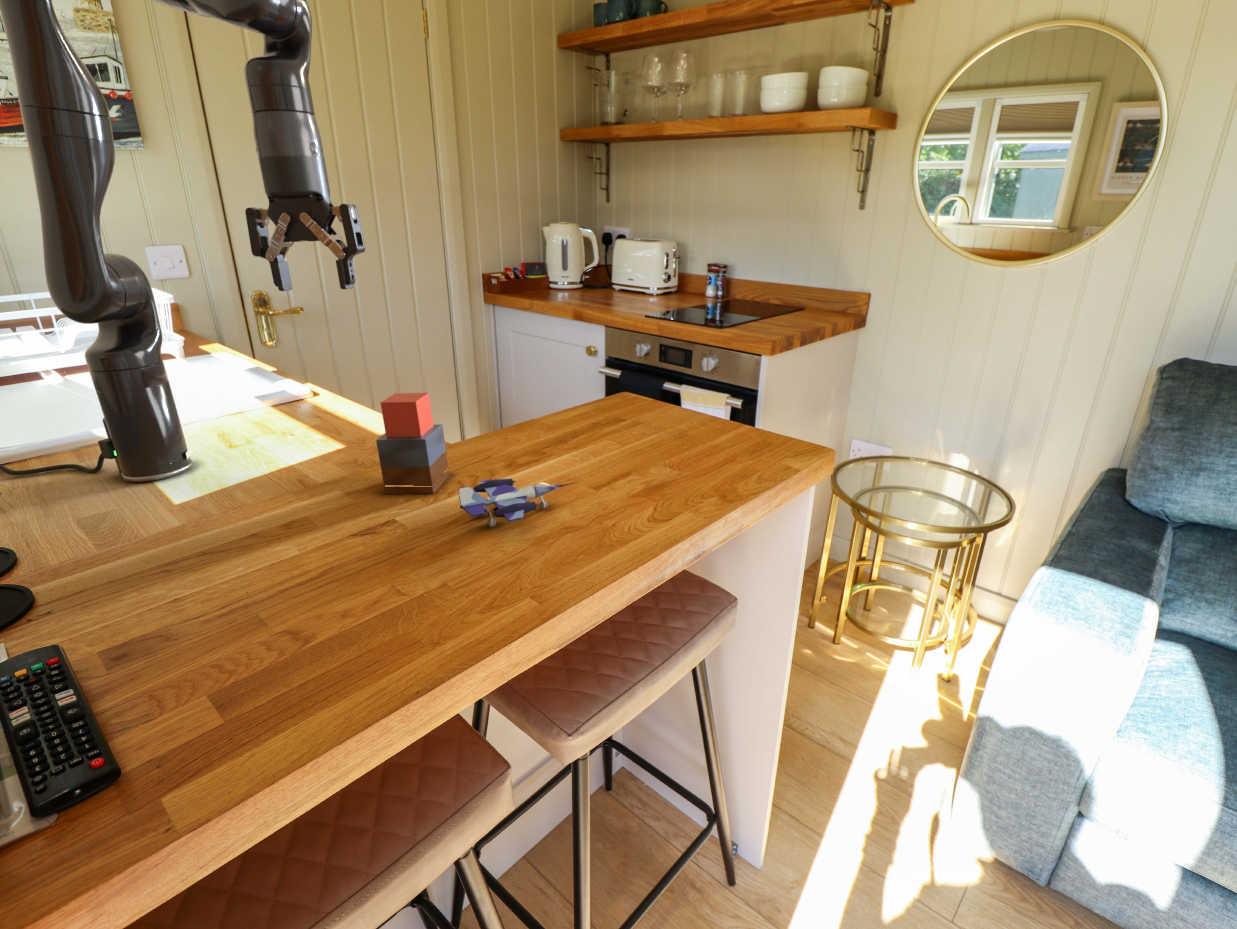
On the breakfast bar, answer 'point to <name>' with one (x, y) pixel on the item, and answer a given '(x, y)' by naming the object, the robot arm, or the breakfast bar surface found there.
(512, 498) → the toy airplane
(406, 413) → the toy block
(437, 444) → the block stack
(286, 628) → the breakfast bar surface
